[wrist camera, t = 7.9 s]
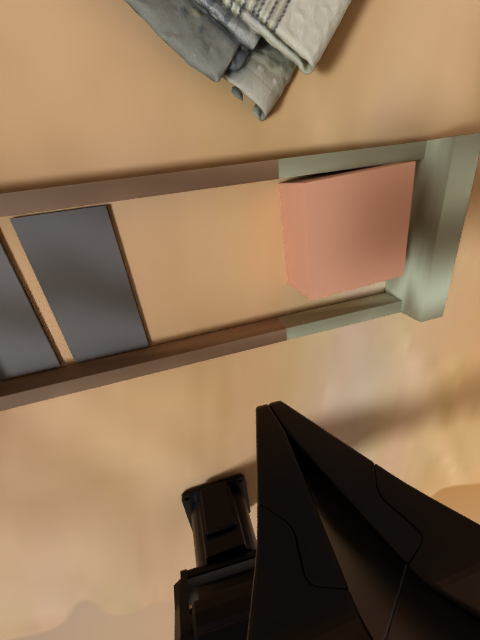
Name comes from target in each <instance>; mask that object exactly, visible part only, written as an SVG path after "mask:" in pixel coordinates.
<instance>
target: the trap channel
mask: <svg viewBox="0 0 480 640" xmlns="http://www.w3.org/2000/svg"><path fill="white" fill-rule="evenodd" d="M479 154H480V133H475V134H467V135H459V136H452V137H446V138H440V139H434V140H428V141H420V142H412V143H404V144H396V145H388V146H380V147H372V148H364V149H356V150H348V151H339V152H331V153H323V154H315V155H307V156H299V157H291V158H283V159H275V160H267V161H259V162H251V163H243V164H235V165H227V166H219V167H211V168H202V169H194V170H186V171H178V172H170V173H162V174H154V175H146V176H138V177H130V178H122V179H114V180H106V181H98V182H90V183H82V184H74V185H65V186H57V187H49V188H41V189H33V190H25V191H17V192H9V193H1V194H0V217H4V216H11V215H18V214H26V213H33V212H40V211H48V210H55V209H62V208H69V207H77V206H84V205H91V204H99V203H106V202H113V201H120V200H128V199H135V198H142V197H149V196H157V195H164V194H171V193H179V192H186V191H193V190H200V189H208V188H215V187H222V186H230V185H237V184H244V183H251V182H259V181H266V180H273V179H281V178H288V177H295V176H302V175H310V174H317V173H324V172H331V171H339V170H346V169H353V168H361V167H368V166H375V165H382V164H390V163H397V162H411V161H416V164H415V173H414V183H413V192H412V201H411V210H410V220H409V229H408V238H407V247H406V257H405V266H404V275H403V276H400V277H396V278H392V279H389V280H386V288H385V293H381V294H377V295H372V296H368V297H364V298H359V299H355V300H351V301H346V302H342V303H338V304H333V305H329V306H325V307H320V308H316V309H312V310H307V311H303V312H299V313H294V314H290V315H286V316H281V317H277V318H273V319H268V320H264V321H260V322H255V323H251V324H247V325H242V326H238V327H234V328H229V329H225V330H221V331H216V332H212V333H208V334H203V335H199V336H195V337H190V338H186V339H182V340H177V341H173V342H169V343H164V344H160V345H156V346H151V347H147V348H143V349H138V348H142V347H146V346H149V343H148V340H147V337H146V334H145V330H144V327H143V324H142V321H141V317H140V314H139V311H138V308H137V304H136V301H135V298H134V295H133V291H132V288H131V285H130V282H129V278H128V275H127V272H126V269H125V265H124V262H123V259H122V256H121V252H120V249H119V246H118V243H117V239H116V236H115V233H114V229H113V226H112V223H111V220H110V216H109V213H108V210H107V207H106V205H104V206H97V207H90V208H82V209H75V210H68V211H61V212H54V213H47V214H39V215H32V216H25V217H18V218H11V219H10V220H11V223H12V225H13V227H14V229H15V231H16V233H17V236H18V238H19V240H20V242H21V244H22V246H23V249H24V251H25V253H26V255H27V257H28V260H29V262H30V264H31V266H32V268H33V270H34V273H35V275H36V277H37V279H38V281H39V284H40V286H41V288H42V290H43V292H44V294H45V297H46V299H47V301H48V303H49V305H50V308H51V310H52V312H53V314H54V316H55V318H56V321H57V323H58V325H59V327H60V329H61V332H62V334H63V336H64V338H65V340H66V342H67V345H68V347H69V349H70V351H71V353H72V355H73V358H74V360H75V362H76V363H77V362H81V361H85V360H90V359H94V358H98V357H103V356H107V355H112V354H116V353H120V352H125V351H129V350H133V349H138V350H134V351H130V352H125V353H121V354H117V355H112V356H108V357H104V358H99V359H95V360H91V361H86V362H82V363H78V364H73V365H69V366H65V367H60V368H56V369H52V370H47V371H43V372H39V373H34V374H30V375H25V374H29V373H33V372H38V371H42V370H46V369H51V368H55V367H59V366H61V363H60V361H59V359H58V357H57V355H56V353H55V351H54V349H53V347H52V345H51V343H50V341H49V339H48V337H47V334H46V332H45V330H44V328H43V326H42V324H41V322H40V320H39V318H38V316H37V314H36V312H35V310H34V308H33V306H32V304H31V302H30V300H29V298H28V296H27V294H26V291H25V289H24V287H23V285H22V283H21V281H20V279H19V277H18V275H17V273H16V271H15V269H14V267H13V265H12V263H11V261H10V259H9V257H8V255H7V253H6V251H5V249H4V246H3V244H2V242H1V240H0V380H3V379H7V378H11V377H16V376H20V375H25V376H21V377H17V378H12V379H8V380H4V381H0V411H3V410H7V409H11V408H15V407H19V406H23V405H27V404H31V403H35V402H39V401H43V400H47V399H51V398H55V397H59V396H63V395H67V394H71V393H75V392H79V391H83V390H87V389H91V388H96V387H100V386H104V385H108V384H112V383H116V382H120V381H124V380H128V379H132V378H136V377H140V376H144V375H148V374H152V373H156V372H160V371H164V370H168V369H172V368H176V367H180V366H184V365H188V364H192V363H197V362H201V361H205V360H209V359H213V358H217V357H221V356H225V355H229V354H233V353H237V352H241V351H245V350H249V349H253V348H257V347H261V346H265V345H269V344H273V343H277V342H281V341H285V340H289V339H293V338H298V337H302V336H306V335H310V334H314V333H318V332H322V331H326V330H330V329H334V328H338V327H342V326H346V325H350V324H354V323H358V322H362V321H366V320H370V319H374V318H378V317H382V316H386V315H390V314H395V313H399V312H402V313H404V314H406V315H408V316H409V317H411V318H413V319H415V320H417V321H419V322H423V321H427V320H431V319H435V318H439V317H442V316H443V312H444V308H445V303H446V299H447V294H448V290H449V286H450V281H451V277H452V273H453V268H454V264H455V259H456V255H457V251H458V246H459V242H460V238H461V233H462V229H463V224H464V220H465V216H466V211H467V207H468V203H469V198H470V194H471V189H472V185H473V181H474V176H475V172H476V168H477V163H478V159H479Z"/></svg>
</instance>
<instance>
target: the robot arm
mask: <svg viewBox="0 0 480 640" xmlns="http://www.w3.org/2000/svg"><path fill="white" fill-rule="evenodd" d="M256 451H257V504H258V505H257V540H256V537H255V533H254V530H253V526H252V523H251V519H250V516H249V513H250V506H249V500H248V494H247V488H246V482H245V478H244V475H242V474H239V475H236V476H233V477H230V478H227V479H224V480H221V481H218V482H215V483H212V484H209V485H206V486H203V487H200V488H196V489H193V490H190V491H187V492H185V493H183V494H182V502H183V505H184V508H185V511H186V514H187V517H188V520H189V523H190V526H191V528H192V531H193V538H194V547H195V557H196V566H197V567H196V568H193V569H190V570H187V569H185V570H182V571H180V574H181V579H180V580H179V581H178V582H177V583H176V584H175V585H174V600H175V640H480V525H479V524H477V523H476V522H474V521H472V520H470V519H468V518H467V517H465V516H463V515H461V514H459V513H458V512H456V511H454V510H452V509H450V508H449V507H447V506H445V505H443V504H441V503H439V502H438V501H436V500H434V499H432V498H431V497H429V496H427V495H425V494H424V493H422V492H420V491H418V490H417V489H415V488H413V487H411V486H410V485H408V484H406V483H405V482H403V481H402V480H400V479H399V478H397V477H395V476H394V475H392V474H391V473H389V472H388V471H386V470H385V469H383V468H382V467H380V466H378V465H377V464H375V465H374V463H373V462H372V461H371V460H369V459H368V458H366V457H365V456H363V455H362V454H360V453H359V452H357V451H356V450H354V449H353V448H351V447H350V446H348V445H347V444H345V443H344V442H342V441H341V440H339V439H338V438H336V437H335V436H333V435H332V434H330V433H329V432H327V431H326V430H324V429H323V428H321V427H320V426H318V425H317V424H315V423H313V422H312V421H310V420H309V419H307V418H306V417H304V416H303V415H301V414H300V413H298V412H297V411H295V410H294V409H292V408H291V407H289V406H288V405H286V404H285V403H283V402H282V401H276V402H273V403H270V404H269V405H267V404H266V405H262V406H258V407H257V408H256ZM191 605H192V606H191Z"/></svg>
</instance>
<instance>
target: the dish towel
mask: <svg viewBox="0 0 480 640" xmlns="http://www.w3.org/2000/svg"><path fill="white" fill-rule="evenodd" d="M125 1H126V2H127V3H128V4H129V5H130V6H131V7H132V8H133V10H134V11H135V12H136V13H137V14H139V15H140V16H141V17H142V18H143V19H144V20H145V21H146V22H147V23H148V24H149V25H150V27H151V28H152V29H153V30H154V31H155V32H156V33H157V35H158V36H159V37H160V38H161V39H163V40H164V41H165V42H166V43H167V44H168V45H169V46H170V47H171V48H172V49H173V50H175V51H176V52H177V53H178V54H179V55H180V56H181V57H182V58H183V59H184V60H185V61H186V62H187V63H188V64H189V65H190V66H192V67H193V68H195V69H196V70H198V71H200V72H201V73H203V74H204V75H206V76H207V77H209V78H210V79H211V80H213V81H214V82H219V81H220V79H221V77H223V78H224V79H225V80H227V81H228V82H230V83H231V84H233V85H235V87H232V93H233V94H234V95H235V96H236V97H237V98H239V99H240V100H242V101H243V94H242V92H243V93H245V94H246V95H247V96H248V97H249V98H250V99H251V100H252V101H253V102H254V103H256V105H255V106H254V108H253V114H254V115H255V116H256V117H257V118H258V119H259V120H260V121H263V120H264V119H265V118H266V117H267V116H268V114H269V112H270V111H271V110H272V108H273V107H274V105H275V103H276V102H277V100H278V99H279V98H280V96H281V95H282V93H283V90H284V88H285V86H286V85H287V84H288V83H289V81H290V79H291V77H292V74H293V72H294V70H295V69H296V67H297V66H298V67H299V69H300V71H302V72H303V73H304V74H306V75H308V74H310V73H311V72H312V71H313V70H314V68H315V66H316V65H317V63H318V62H319V61H320V59H321V57H322V55H323V53H324V51H325V49H326V47H327V46H328V44H329V42H330V40H331V38H332V36H333V35H334V33H335V31H336V29H337V27H338V26H339V24H340V22H341V20H342V18H343V16H344V14H345V12H346V10H347V8H348V6H349V5H350V3H351V1H352V0H125ZM241 91H242V92H241Z"/></svg>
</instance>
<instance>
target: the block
mask: <svg viewBox="0 0 480 640" xmlns="http://www.w3.org/2000/svg"><path fill="white" fill-rule="evenodd" d="M415 164H416V161H411V162H400V163H390V164H382V165H375V166H368V167H361V168H355V169H350V170H345V171H340V172H335V173H330V174H325V175H320V176H314V177H309V178H304V179H299V180H294V181H289V182H284V183H279V192H280V204H281V215H282V226H283V237H284V248H285V259H286V270H287V282H288V284H289V285H291V286H292V287H293V288H295V289H296V290H297V291H299V292H300V293H301V294H303V295H304V296H306V297H307V298H308V299H310V300H315V299H319V298H322V297H326V296H330V295H333V294H337V293H341V292H344V291H348V290H352V289H355V288H359V287H363V286H366V285H370V284H374V283H377V282H381V281H385V280H389V279H392V278H396V277H400V276H403V275H404V266H405V257H406V247H407V238H408V229H409V220H410V210H411V201H412V192H413V183H414V173H415Z"/></svg>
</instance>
